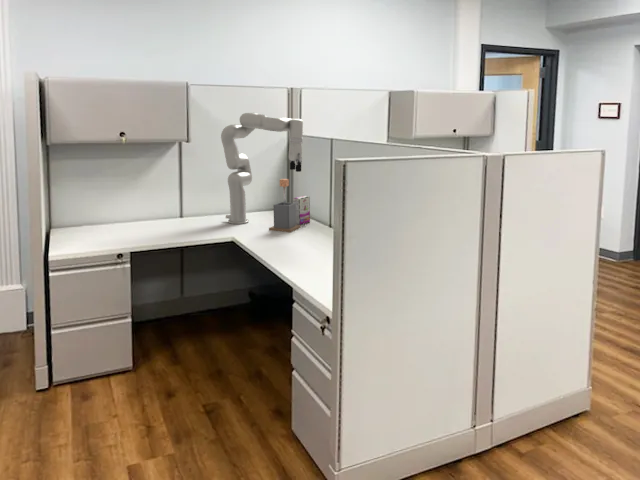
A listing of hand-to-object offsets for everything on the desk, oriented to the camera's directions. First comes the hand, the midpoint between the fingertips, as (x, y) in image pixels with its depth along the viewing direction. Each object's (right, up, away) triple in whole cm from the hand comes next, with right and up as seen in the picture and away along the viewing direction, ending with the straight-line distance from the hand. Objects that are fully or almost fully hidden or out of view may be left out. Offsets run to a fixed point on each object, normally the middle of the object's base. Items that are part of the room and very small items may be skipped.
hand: (295, 170), depth 349 cm
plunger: (-6, -24, +3) cm, 25 cm away
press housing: (-6, -34, +5) cm, 35 cm away
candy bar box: (+3, -30, +22) cm, 38 cm away
